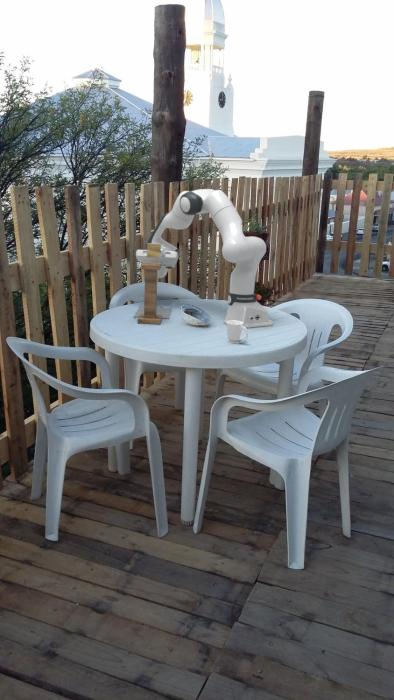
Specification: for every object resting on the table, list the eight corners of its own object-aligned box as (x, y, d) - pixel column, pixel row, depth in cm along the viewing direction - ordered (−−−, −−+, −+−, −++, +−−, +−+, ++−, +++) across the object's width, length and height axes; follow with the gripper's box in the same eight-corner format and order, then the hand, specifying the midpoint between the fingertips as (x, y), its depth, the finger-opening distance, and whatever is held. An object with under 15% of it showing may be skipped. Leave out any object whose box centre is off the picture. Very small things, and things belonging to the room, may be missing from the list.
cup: (232, 338, 237) (233, 319, 235) (251, 343, 231) (253, 324, 228) (221, 341, 232) (222, 321, 229) (241, 346, 226) (242, 326, 223)
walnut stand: (140, 318, 263) (141, 261, 255) (162, 319, 263) (163, 262, 255) (137, 323, 253) (138, 264, 246) (160, 324, 253) (161, 266, 246)
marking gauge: (150, 252, 275) (150, 240, 273) (162, 253, 275) (163, 240, 273) (146, 257, 259) (146, 243, 258) (159, 257, 259) (160, 244, 258)
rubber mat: (139, 307, 285) (139, 306, 285) (171, 308, 285) (171, 307, 285) (134, 317, 264) (134, 316, 264) (168, 319, 264) (168, 318, 264)
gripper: (137, 254, 286) (134, 242, 272) (178, 256, 286) (177, 244, 272) (136, 265, 284) (133, 254, 271) (177, 267, 284) (176, 257, 271)
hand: (156, 249), depth 271 cm, fingers closed on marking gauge, 3 cm apart
